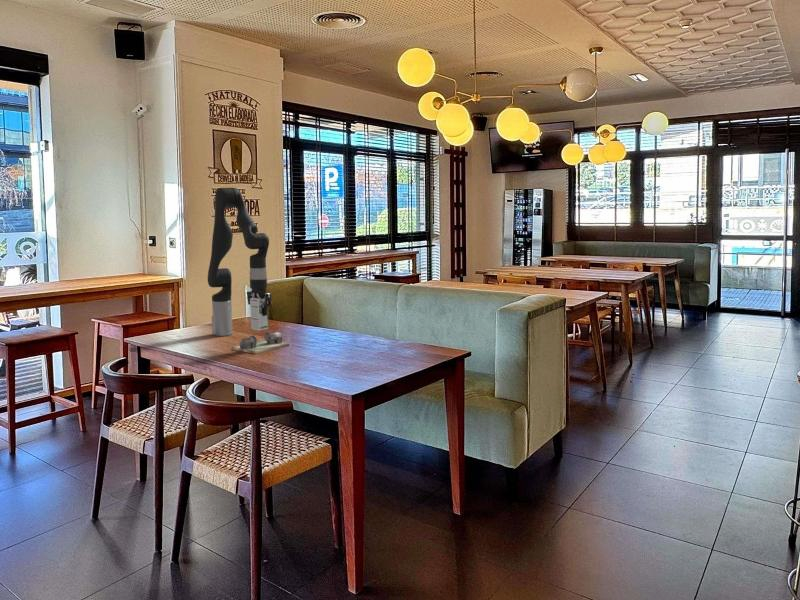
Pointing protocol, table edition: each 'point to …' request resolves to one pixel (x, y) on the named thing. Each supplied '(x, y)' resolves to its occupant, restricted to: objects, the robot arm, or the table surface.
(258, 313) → the syrup box
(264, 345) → the shaft bed
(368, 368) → the table surface
